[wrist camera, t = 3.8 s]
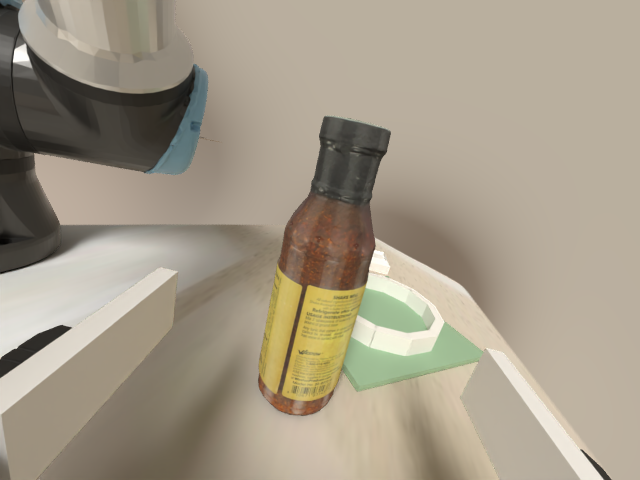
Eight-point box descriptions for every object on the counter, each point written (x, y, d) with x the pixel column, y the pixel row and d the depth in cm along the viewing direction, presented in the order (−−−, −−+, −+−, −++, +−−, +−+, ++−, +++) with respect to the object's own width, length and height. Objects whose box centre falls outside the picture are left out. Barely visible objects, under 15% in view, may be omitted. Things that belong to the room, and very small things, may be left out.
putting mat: (283, 281, 39) (287, 263, 38) (386, 279, 48) (391, 265, 47) (357, 391, 24) (366, 367, 23) (485, 359, 33) (495, 340, 32)
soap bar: (336, 253, 55) (340, 240, 54) (383, 265, 55) (387, 252, 54) (335, 263, 50) (339, 249, 49) (386, 276, 50) (391, 262, 49)
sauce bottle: (342, 379, 25) (427, 142, 19) (311, 439, 20) (416, 130, 13) (278, 344, 27) (335, 119, 21) (233, 388, 22) (291, 100, 15)
